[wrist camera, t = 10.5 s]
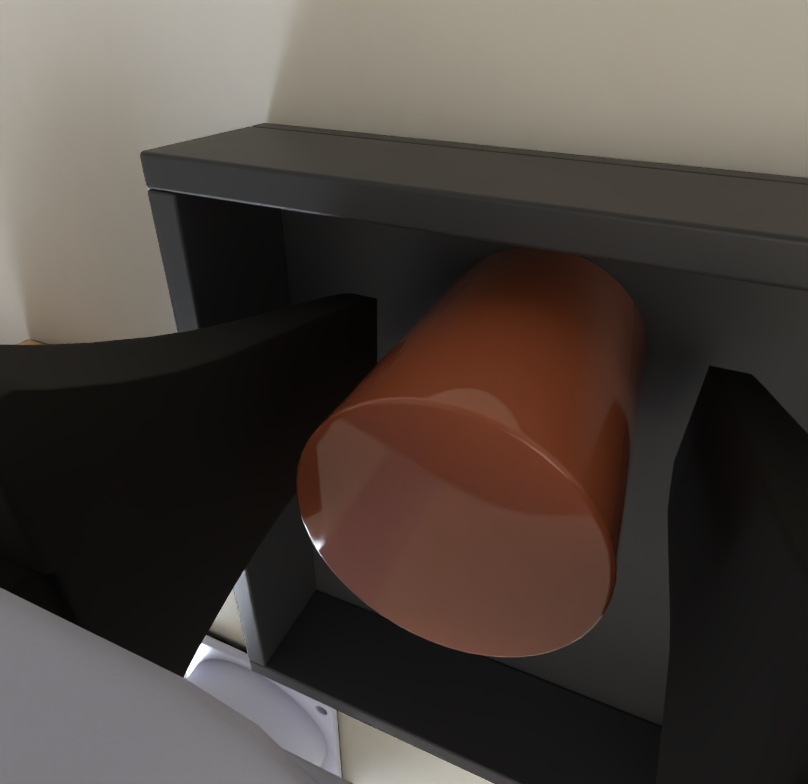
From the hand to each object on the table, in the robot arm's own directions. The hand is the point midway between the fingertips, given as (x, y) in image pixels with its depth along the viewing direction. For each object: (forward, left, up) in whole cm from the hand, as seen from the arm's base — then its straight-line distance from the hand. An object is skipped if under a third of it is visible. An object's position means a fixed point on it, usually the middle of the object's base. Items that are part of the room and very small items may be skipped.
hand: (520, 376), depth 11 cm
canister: (0, 0, -1) cm, 1 cm away
